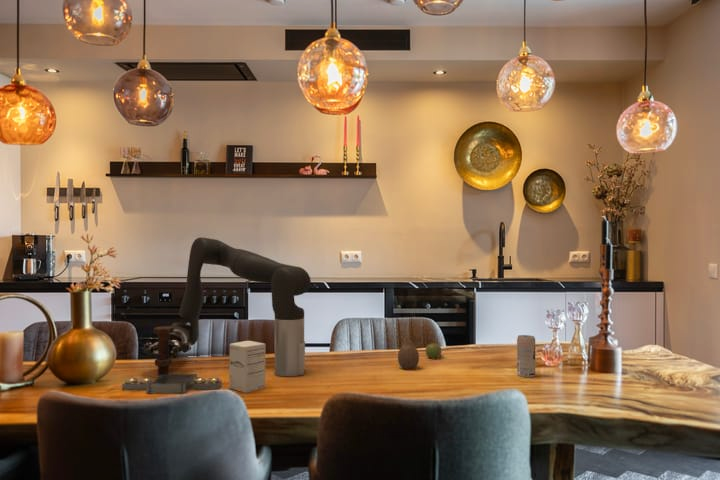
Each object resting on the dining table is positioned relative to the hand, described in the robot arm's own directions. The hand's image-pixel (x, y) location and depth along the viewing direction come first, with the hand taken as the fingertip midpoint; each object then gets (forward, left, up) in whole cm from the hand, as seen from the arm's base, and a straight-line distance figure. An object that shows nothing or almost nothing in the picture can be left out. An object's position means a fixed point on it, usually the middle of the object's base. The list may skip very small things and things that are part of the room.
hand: (161, 351), depth 159 cm
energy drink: (-111, 0, -8) cm, 111 cm away
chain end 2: (-11, +11, -8) cm, 17 cm away
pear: (-87, -29, -8) cm, 92 cm away
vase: (-76, -11, -8) cm, 77 cm away
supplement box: (-28, +12, -8) cm, 31 cm away
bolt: (0, -2, -8) cm, 9 cm away
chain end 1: (-2, +11, -8) cm, 14 cm away
